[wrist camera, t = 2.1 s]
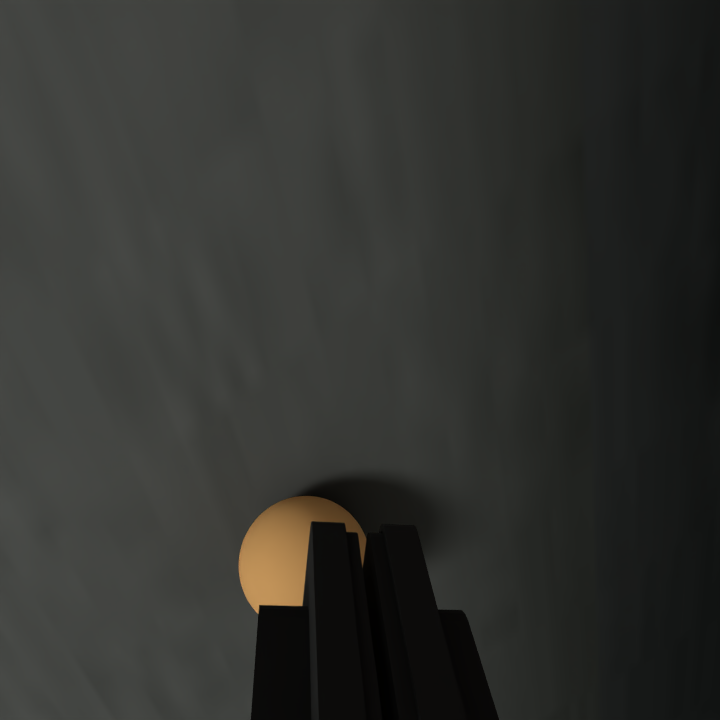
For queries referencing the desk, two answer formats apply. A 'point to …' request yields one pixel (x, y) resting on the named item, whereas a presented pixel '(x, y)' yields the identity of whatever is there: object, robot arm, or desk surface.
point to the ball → (285, 549)
